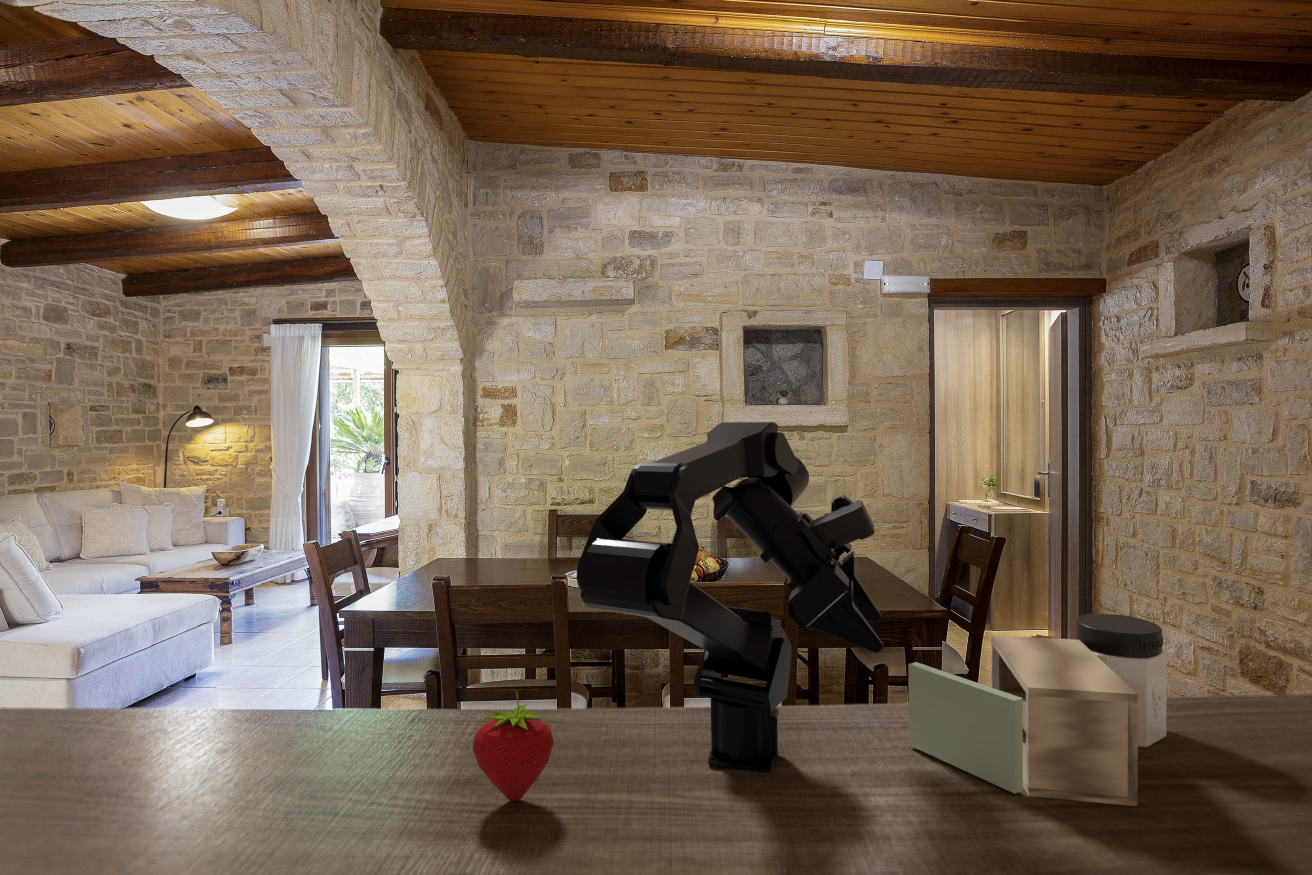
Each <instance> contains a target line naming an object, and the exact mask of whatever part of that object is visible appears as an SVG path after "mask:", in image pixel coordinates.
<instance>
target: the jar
mask: <svg viewBox="0 0 1312 875" xmlns="http://www.w3.org/2000/svg"><path fill="white" fill-rule="evenodd" d="M1075 640H1080V641H1081V642H1082V643H1083V644H1084V645H1085V646H1086V647H1087V648H1088V649H1089V650H1091V651H1092V652H1093V653H1094V654H1095V655H1096V656H1097V657H1098V658H1099V659H1100V660H1101V661H1102V662H1104V663H1105V664H1106V665H1107V666H1108V667H1109V668H1110V669H1111V670H1112V671H1113V672H1114V673H1115V674H1117V675H1118V676H1119V677H1120V678H1121V679H1122V680H1123V681H1124V682H1125V683H1126V684H1127V685H1128V686H1130V687H1131V688H1132V689H1133V690H1134V691H1135V692H1136V693H1137V694H1138V747H1139V748H1148V747H1150V746H1151V745H1154V744H1155V743H1157V742H1158V741H1161V740H1162V739H1164V738H1166V736H1167V702H1168V701H1167V698H1168V697H1167V692H1168V691H1167V688H1168V687H1167V684H1168V683H1167V679H1168V678H1167V673H1168V672H1167V670H1168V667H1167V666H1168V665H1167V664H1168V662H1167V659H1168V657H1167V656H1168V654H1167V651H1166V650H1163V646H1164V636H1163V628H1162V627H1161V626H1160V625H1158V624H1157V623H1155V622H1152V621H1150V620H1147V619H1143V618H1140V617H1134V616H1129V615H1123V614H1117V613H1116V614H1114V613H1088V614H1087V613H1086V614H1083V615H1080V616H1079V615H1078V617H1077V618H1076V619H1075Z"/></svg>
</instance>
